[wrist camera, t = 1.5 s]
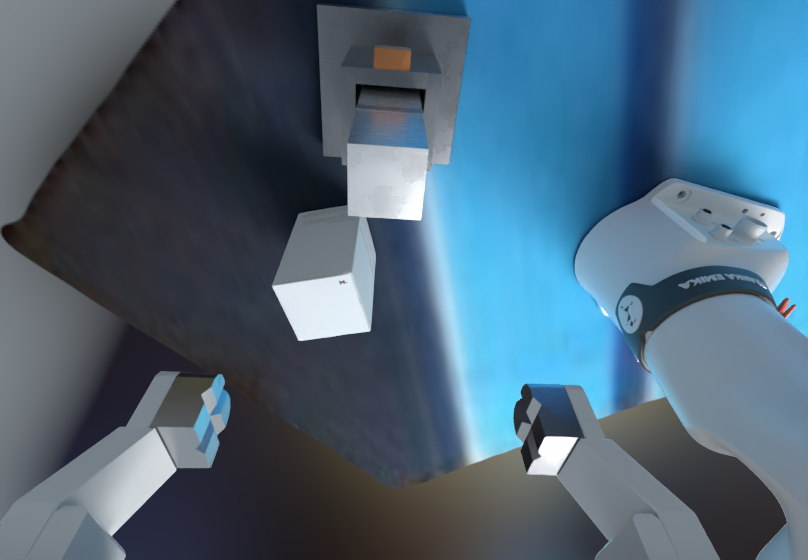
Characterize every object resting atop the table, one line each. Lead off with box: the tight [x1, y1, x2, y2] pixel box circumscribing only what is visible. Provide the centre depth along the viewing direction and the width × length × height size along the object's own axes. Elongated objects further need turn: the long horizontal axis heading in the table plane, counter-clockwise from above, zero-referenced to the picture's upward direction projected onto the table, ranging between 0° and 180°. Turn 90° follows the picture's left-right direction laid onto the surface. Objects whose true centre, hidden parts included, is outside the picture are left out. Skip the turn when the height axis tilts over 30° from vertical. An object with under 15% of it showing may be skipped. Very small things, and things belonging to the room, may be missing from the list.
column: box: [347, 84, 429, 220], centre depth 28 cm, size 4×4×18 cm
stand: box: [317, 3, 471, 171], centre depth 33 cm, size 12×12×10 cm
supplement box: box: [272, 205, 376, 341], centre depth 42 cm, size 7×7×13 cm
